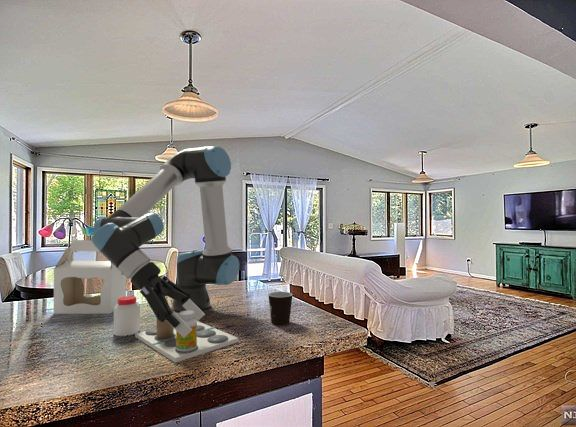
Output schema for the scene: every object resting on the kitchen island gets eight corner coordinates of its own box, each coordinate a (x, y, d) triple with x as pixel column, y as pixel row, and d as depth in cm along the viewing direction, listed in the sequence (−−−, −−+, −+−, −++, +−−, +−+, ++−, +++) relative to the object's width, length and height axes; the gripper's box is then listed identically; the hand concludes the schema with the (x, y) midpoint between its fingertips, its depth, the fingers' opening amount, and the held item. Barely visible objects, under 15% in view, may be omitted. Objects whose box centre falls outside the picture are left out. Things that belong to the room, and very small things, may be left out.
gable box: (126, 304, 142) (127, 239, 142) (111, 313, 129) (112, 241, 129) (73, 305, 141) (74, 239, 142) (52, 314, 128) (53, 241, 128)
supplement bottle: (175, 352, 88) (175, 315, 88) (176, 345, 93) (177, 310, 93) (196, 350, 89) (197, 314, 90) (196, 343, 95) (197, 309, 95)
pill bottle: (113, 337, 103) (113, 302, 103) (113, 330, 110) (113, 296, 110) (140, 333, 107) (140, 299, 107) (139, 326, 114) (139, 294, 114)
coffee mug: (290, 327, 113) (290, 297, 113) (265, 325, 115) (265, 296, 115) (296, 317, 124) (296, 290, 125) (273, 315, 126) (273, 289, 126)
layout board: (135, 337, 104) (135, 306, 104) (193, 322, 118) (193, 295, 118) (175, 362, 85) (175, 325, 86) (238, 342, 100) (238, 310, 100)
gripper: (149, 272, 104) (197, 320, 104) (106, 290, 79) (169, 353, 79) (166, 255, 104) (214, 303, 104) (129, 267, 79) (192, 331, 79)
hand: (195, 325), depth 91 cm, fingers open, 13 cm apart
